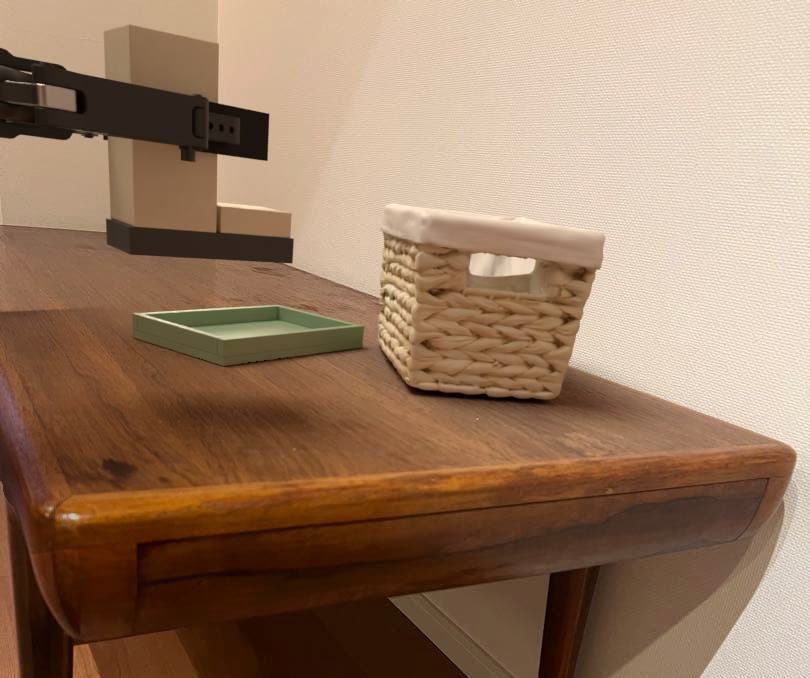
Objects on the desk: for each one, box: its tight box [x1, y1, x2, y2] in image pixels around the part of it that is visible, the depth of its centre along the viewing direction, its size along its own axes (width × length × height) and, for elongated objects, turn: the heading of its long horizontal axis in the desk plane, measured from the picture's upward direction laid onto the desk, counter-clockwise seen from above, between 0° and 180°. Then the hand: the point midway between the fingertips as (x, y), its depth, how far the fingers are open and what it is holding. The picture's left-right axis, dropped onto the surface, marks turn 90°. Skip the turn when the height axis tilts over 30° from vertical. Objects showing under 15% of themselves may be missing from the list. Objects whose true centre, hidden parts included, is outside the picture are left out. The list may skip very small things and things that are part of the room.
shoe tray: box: [131, 304, 365, 367], centre depth 79 cm, size 13×20×2 cm, turn 144°
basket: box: [377, 202, 606, 400], centre depth 75 cm, size 24×16×15 cm
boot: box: [103, 23, 295, 264], centre depth 50 cm, size 11×5×12 cm, turn 124°
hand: (224, 133), depth 52 cm, fingers closed on boot, 6 cm apart
